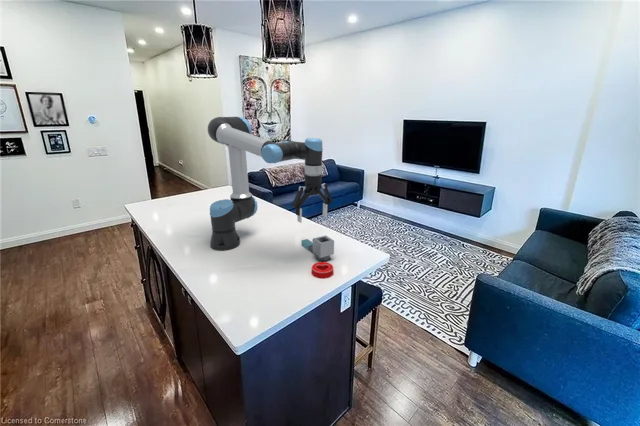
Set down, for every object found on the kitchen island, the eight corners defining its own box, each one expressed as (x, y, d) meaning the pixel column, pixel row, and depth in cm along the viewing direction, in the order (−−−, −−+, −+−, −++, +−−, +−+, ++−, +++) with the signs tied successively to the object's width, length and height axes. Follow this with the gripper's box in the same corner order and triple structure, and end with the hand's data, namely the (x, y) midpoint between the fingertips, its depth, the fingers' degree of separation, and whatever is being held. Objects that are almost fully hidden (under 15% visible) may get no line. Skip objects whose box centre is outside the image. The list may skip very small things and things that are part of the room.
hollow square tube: (320, 257, 136) (320, 244, 134) (312, 251, 142) (312, 238, 140) (333, 254, 140) (334, 240, 138) (325, 248, 146) (325, 235, 144)
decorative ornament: (316, 280, 124) (316, 274, 123) (308, 270, 132) (308, 264, 131) (337, 276, 127) (337, 269, 126) (327, 265, 136) (327, 259, 135)
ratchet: (298, 245, 156) (298, 231, 153) (310, 242, 159) (310, 229, 157) (320, 263, 138) (320, 247, 135) (332, 259, 141) (333, 244, 138)
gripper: (291, 178, 120) (292, 226, 128) (341, 173, 133) (339, 217, 140) (283, 175, 126) (284, 221, 134) (332, 170, 139) (330, 212, 146)
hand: (312, 219), depth 137 cm, fingers open, 13 cm apart
